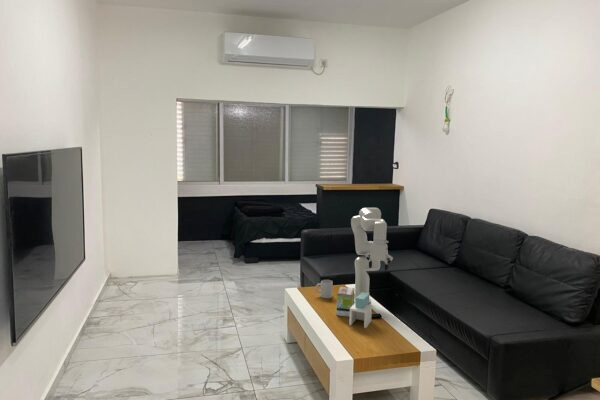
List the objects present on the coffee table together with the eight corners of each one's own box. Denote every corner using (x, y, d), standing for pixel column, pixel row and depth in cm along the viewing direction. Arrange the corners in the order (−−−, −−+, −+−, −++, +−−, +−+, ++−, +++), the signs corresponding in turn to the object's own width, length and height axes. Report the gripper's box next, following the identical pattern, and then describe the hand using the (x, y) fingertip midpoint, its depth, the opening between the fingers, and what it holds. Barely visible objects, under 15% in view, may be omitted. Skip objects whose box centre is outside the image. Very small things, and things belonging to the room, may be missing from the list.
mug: (331, 294, 333) (331, 279, 332) (333, 298, 325) (333, 283, 324) (314, 294, 332) (315, 279, 331) (316, 298, 324) (316, 283, 322)
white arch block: (355, 318, 290) (355, 302, 288) (371, 321, 286) (371, 304, 284) (349, 324, 279) (349, 308, 277) (365, 328, 275) (366, 311, 273)
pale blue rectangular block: (361, 301, 290) (361, 292, 289) (369, 302, 288) (369, 293, 287) (355, 307, 279) (355, 297, 278) (363, 308, 277) (363, 299, 276)
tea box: (351, 317, 291) (352, 294, 289) (336, 315, 293) (336, 293, 291) (353, 308, 306) (354, 287, 304) (338, 307, 308) (339, 285, 306)
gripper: (395, 242, 279) (393, 269, 281) (367, 238, 286) (366, 265, 289) (392, 244, 272) (390, 272, 275) (363, 241, 280) (362, 268, 282)
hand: (378, 268), depth 282 cm, fingers open, 9 cm apart
